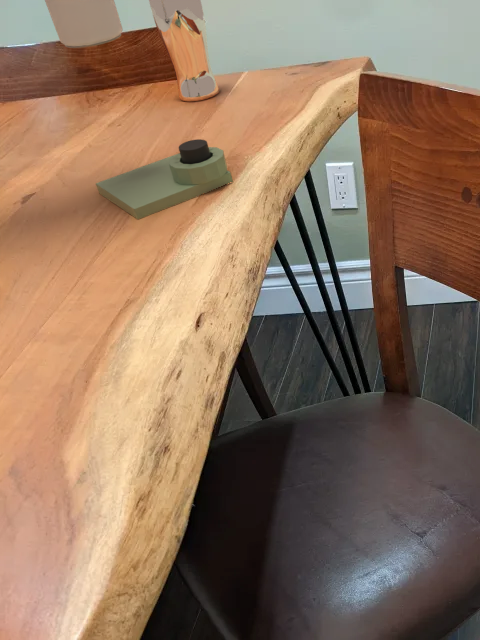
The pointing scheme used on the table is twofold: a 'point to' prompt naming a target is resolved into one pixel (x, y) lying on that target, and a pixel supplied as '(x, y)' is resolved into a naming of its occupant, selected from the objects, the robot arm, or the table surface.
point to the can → (85, 21)
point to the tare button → (194, 151)
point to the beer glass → (186, 46)
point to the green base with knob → (165, 183)
